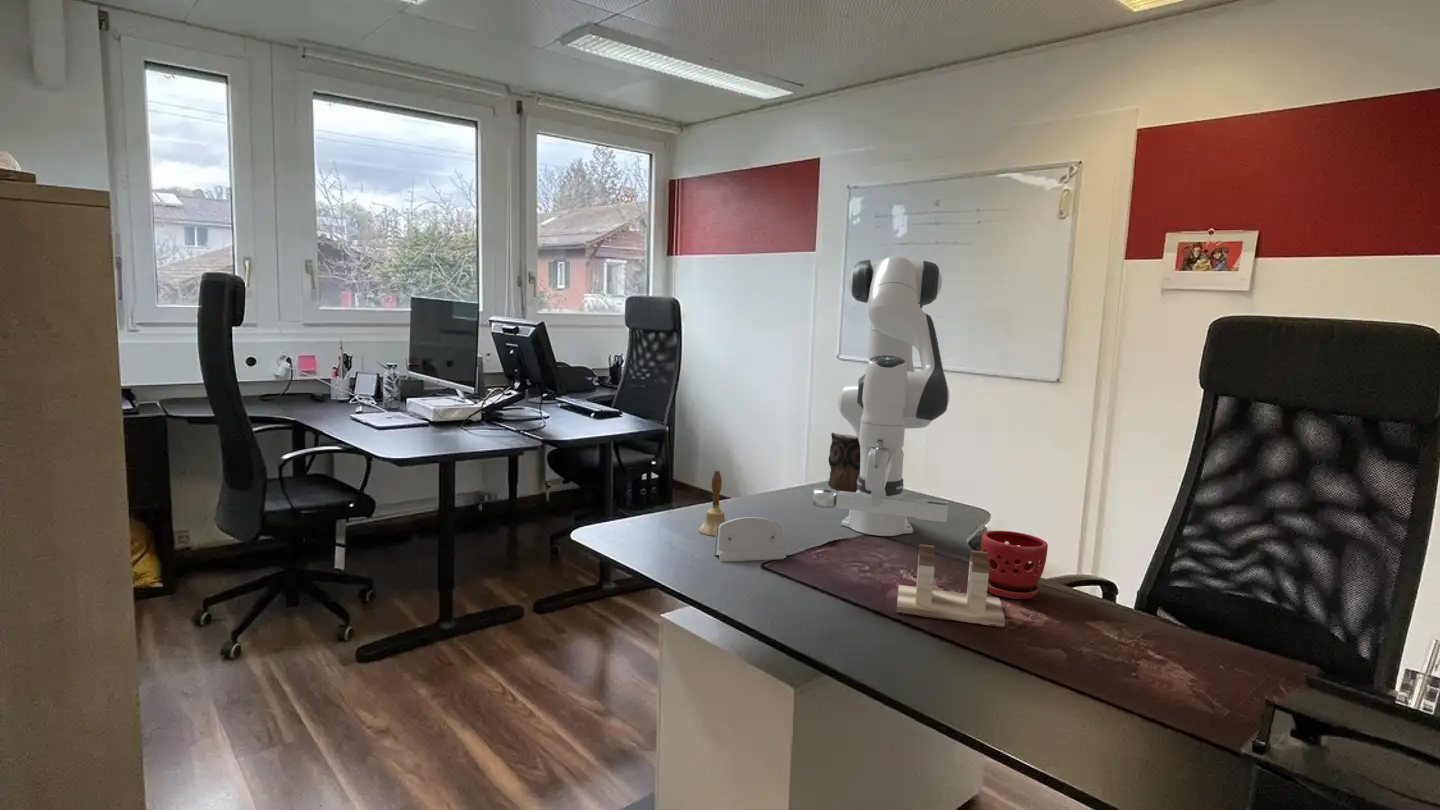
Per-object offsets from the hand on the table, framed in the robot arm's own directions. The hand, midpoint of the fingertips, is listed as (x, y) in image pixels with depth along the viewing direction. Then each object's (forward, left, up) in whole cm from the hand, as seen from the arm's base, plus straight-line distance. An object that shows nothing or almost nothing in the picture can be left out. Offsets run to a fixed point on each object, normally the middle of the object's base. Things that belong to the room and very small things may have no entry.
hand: (876, 503), depth 158 cm
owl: (-80, -10, -20) cm, 83 cm away
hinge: (-15, -29, -20) cm, 38 cm away
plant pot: (-12, +29, -20) cm, 37 cm away
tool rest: (+3, +16, -19) cm, 25 cm away
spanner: (0, 0, -2) cm, 2 cm away
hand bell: (-29, -41, -20) cm, 54 cm away
